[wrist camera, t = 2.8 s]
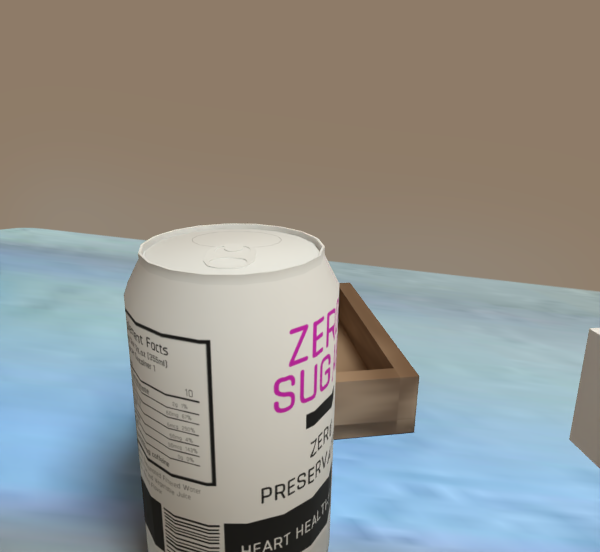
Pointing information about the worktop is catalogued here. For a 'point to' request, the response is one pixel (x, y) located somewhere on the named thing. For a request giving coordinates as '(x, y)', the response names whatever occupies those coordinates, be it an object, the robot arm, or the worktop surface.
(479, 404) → the worktop surface
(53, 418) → the worktop surface
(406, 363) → the walnut tray
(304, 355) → the supplement can
